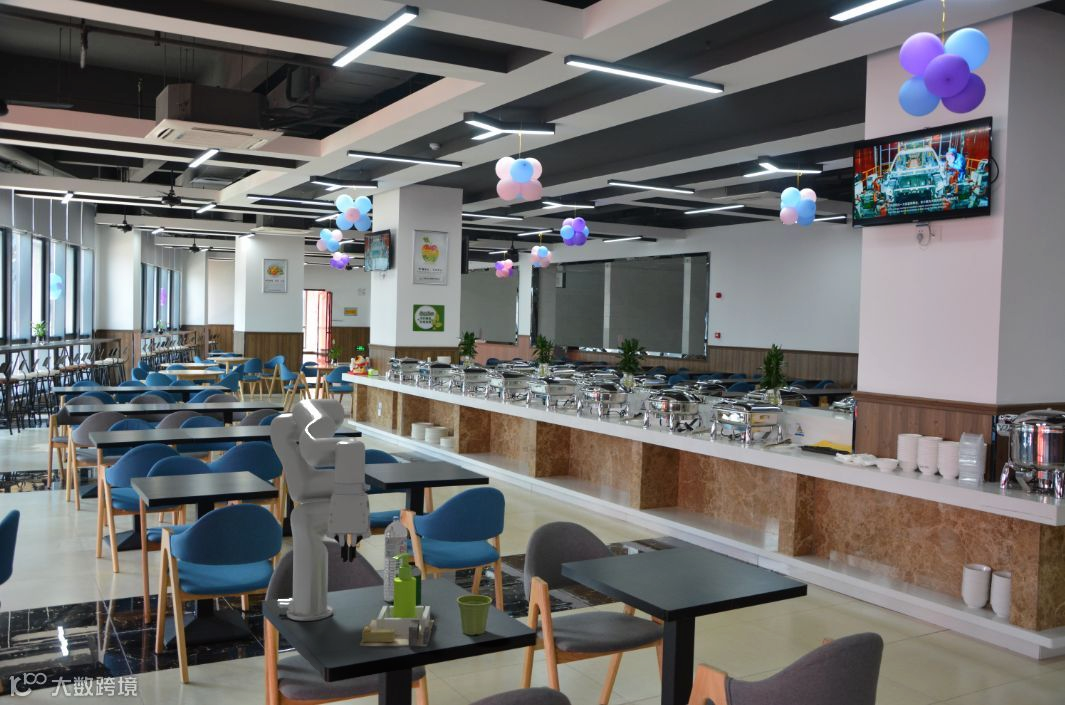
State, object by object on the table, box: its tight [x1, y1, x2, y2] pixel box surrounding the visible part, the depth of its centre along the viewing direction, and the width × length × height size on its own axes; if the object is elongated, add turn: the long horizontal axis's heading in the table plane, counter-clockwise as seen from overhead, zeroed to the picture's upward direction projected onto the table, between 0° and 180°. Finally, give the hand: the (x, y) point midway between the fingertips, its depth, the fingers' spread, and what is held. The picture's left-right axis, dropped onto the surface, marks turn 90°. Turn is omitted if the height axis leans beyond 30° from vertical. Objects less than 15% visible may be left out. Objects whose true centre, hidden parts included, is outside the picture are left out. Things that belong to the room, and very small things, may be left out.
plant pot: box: [456, 594, 493, 636], centre depth 227 cm, size 9×9×9 cm
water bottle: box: [383, 516, 408, 603], centre depth 255 cm, size 7×7×25 cm
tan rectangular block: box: [361, 625, 395, 642], centre depth 216 cm, size 8×2×3 cm, turn 92°
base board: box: [359, 619, 435, 647], centre depth 224 cm, size 17×21×5 cm
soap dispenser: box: [393, 552, 416, 618], centre depth 227 cm, size 6×7×20 cm
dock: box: [376, 605, 431, 635], centre depth 228 cm, size 13×12×4 cm
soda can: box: [396, 565, 423, 606], centre depth 246 cm, size 8×8×12 cm
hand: (348, 560), depth 216 cm, fingers closed
